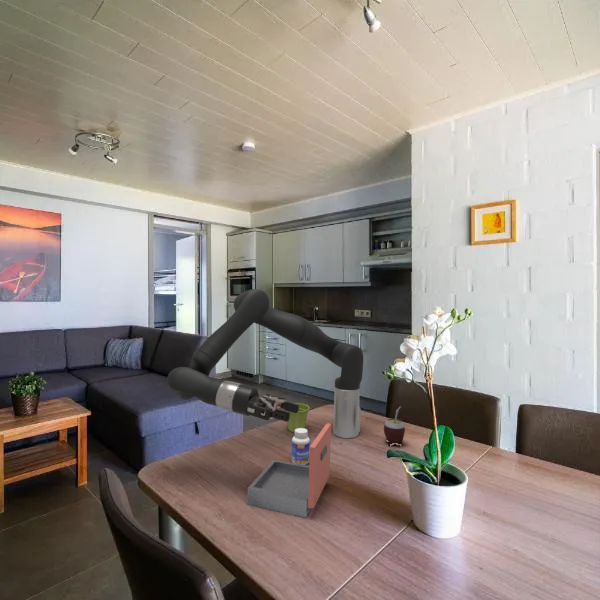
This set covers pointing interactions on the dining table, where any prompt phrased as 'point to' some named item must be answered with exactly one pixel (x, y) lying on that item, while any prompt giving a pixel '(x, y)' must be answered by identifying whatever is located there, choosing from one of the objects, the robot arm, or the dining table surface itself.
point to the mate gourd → (394, 430)
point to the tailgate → (319, 464)
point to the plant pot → (298, 418)
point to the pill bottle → (300, 447)
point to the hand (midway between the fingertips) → (294, 413)
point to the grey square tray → (282, 488)
